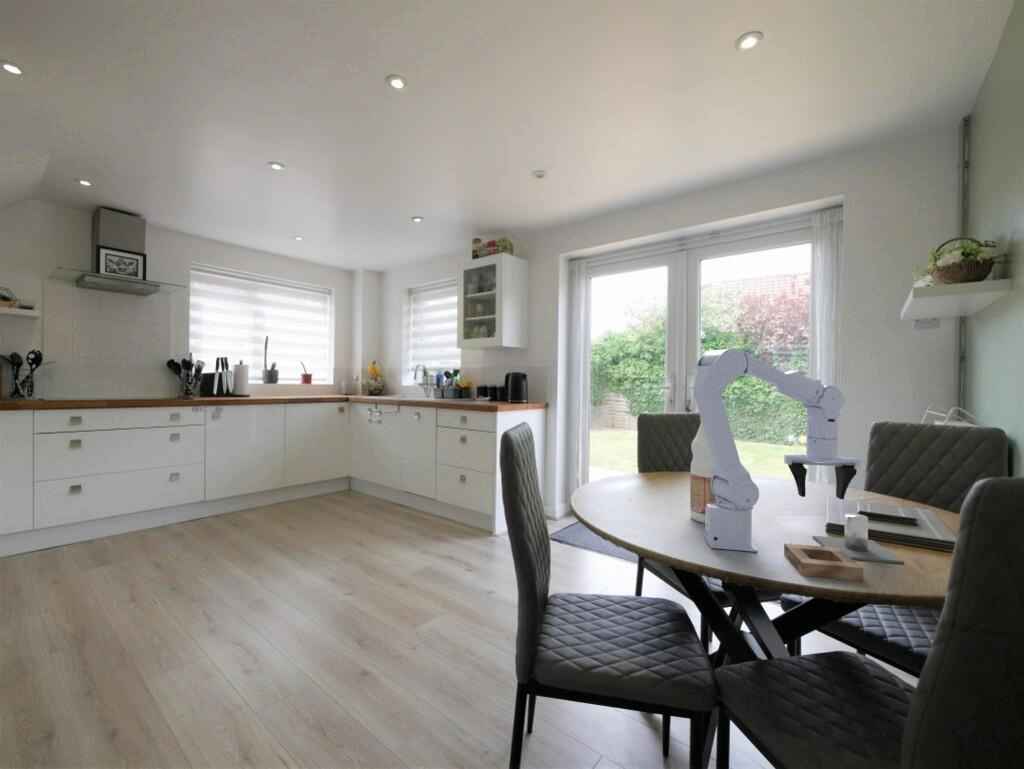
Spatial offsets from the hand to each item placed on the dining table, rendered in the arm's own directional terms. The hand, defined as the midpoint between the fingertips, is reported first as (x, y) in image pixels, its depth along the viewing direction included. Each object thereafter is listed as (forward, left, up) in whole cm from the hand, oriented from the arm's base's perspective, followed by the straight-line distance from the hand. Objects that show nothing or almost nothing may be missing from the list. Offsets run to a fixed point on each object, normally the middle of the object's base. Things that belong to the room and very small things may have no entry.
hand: (820, 497), depth 102 cm
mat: (+5, -4, -10) cm, 12 cm away
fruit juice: (-22, +11, -11) cm, 27 cm away
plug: (+5, -4, -10) cm, 12 cm away
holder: (-6, -16, -10) cm, 20 cm away
